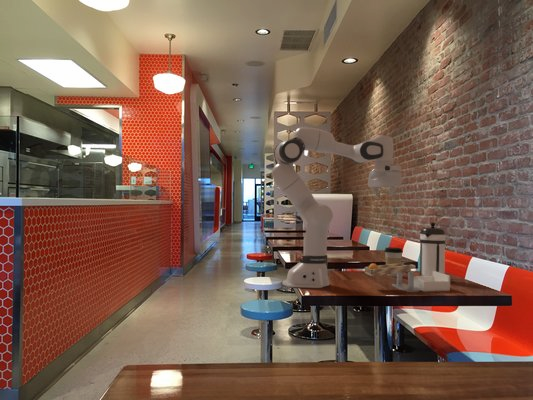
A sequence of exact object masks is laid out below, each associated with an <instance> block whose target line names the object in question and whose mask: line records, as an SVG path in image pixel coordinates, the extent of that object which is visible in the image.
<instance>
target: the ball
mask: <svg viewBox="0 0 533 400" xmlns="http://www.w3.org/2000/svg"><path fill="white" fill-rule="evenodd" d="M378 266H379V265H377V264H376V263H370V264H369V265H368V267H369V268H370V269H378Z"/></svg>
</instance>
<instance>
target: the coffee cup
mask: <svg viewBox="0 0 533 400" xmlns="http://www.w3.org/2000/svg"><path fill="white" fill-rule="evenodd" d="M403 252H404V251H403V248H401V247H385V249H384V257H385V265H388V264H396V263H402V260H403V259H402V258H403ZM386 275H387V276H388V277H392V276H393V278H394V277H396V278H397V273H394V274H386Z"/></svg>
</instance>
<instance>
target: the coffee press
mask: <svg viewBox="0 0 533 400" xmlns="http://www.w3.org/2000/svg"><path fill="white" fill-rule="evenodd" d="M429 225H430V226H427V227H426V226H425V227H422V228H421V230H420V231H419V235H420V237H419V245H420V246H419V247H420V249H419V275H418V276H433V271H436V272H440V273H443V274H446V272H445V271H446V269H445V268H446V265H445V264H446V242H447V241H446V235H447V233H446V231H445V229H444V228H442V227H438V226H437V227H435V226H436V223H435V222H430V224H429Z"/></svg>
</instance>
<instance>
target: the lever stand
mask: <svg viewBox="0 0 533 400" xmlns="http://www.w3.org/2000/svg"><path fill="white" fill-rule="evenodd" d="M414 276H415V272H414V271H410V272H408V273H407V283H404V282H403V272H402V273H397V277H396V282H395V283H394V282H393V283H391V286H392V287H395V288H397V289H399V290H401V291H403V292H405V291H406V293H419V292H420V290H419V289H417V288H414Z"/></svg>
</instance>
